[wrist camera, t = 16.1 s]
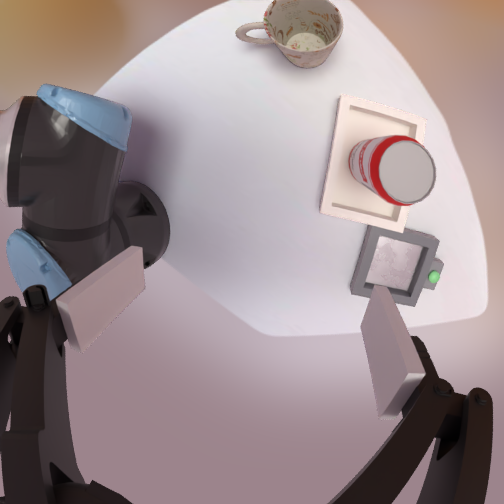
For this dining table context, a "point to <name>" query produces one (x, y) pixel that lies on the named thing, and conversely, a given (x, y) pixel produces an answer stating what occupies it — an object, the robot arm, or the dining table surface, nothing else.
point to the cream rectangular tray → (338, 173)
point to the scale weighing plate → (393, 263)
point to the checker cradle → (424, 272)
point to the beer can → (394, 168)
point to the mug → (299, 30)
